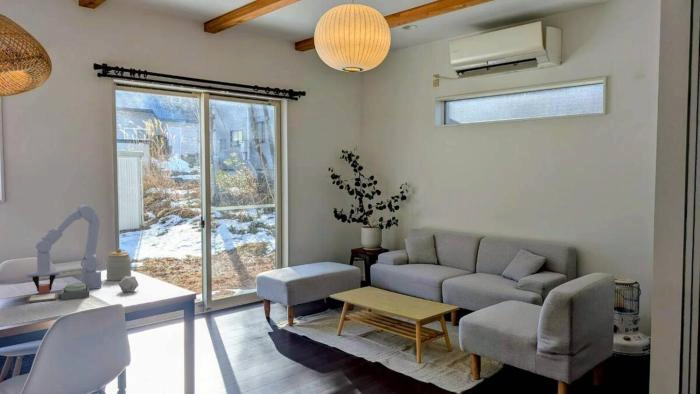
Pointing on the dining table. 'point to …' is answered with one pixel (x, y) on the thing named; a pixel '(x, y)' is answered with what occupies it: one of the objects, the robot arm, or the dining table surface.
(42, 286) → the small die
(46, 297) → the board
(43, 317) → the dining table surface
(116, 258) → the jar
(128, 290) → the die
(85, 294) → the grey square tray
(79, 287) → the dome
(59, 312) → the dining table surface
